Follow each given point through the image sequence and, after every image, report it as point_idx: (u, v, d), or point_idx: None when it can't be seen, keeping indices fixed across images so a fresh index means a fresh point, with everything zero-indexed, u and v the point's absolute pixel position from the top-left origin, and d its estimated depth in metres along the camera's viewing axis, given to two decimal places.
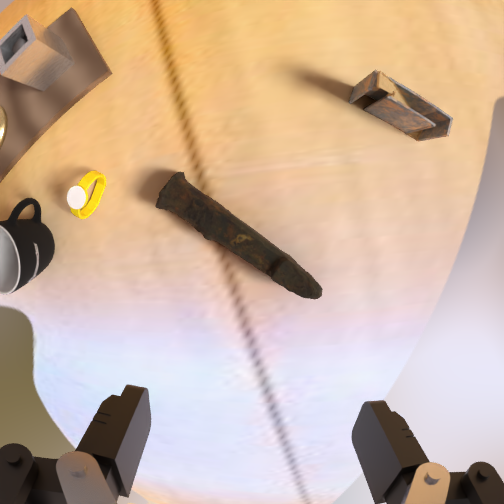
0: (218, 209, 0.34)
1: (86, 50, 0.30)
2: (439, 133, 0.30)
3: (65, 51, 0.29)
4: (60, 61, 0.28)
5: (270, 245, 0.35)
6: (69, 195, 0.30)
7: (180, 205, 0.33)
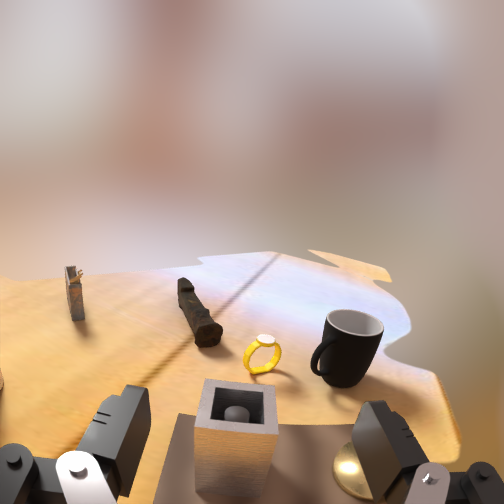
0: (191, 312, 0.54)
1: (180, 448, 0.27)
2: (74, 274, 0.59)
3: None
4: None
5: (183, 297, 0.61)
6: (271, 342, 0.43)
7: (207, 319, 0.52)
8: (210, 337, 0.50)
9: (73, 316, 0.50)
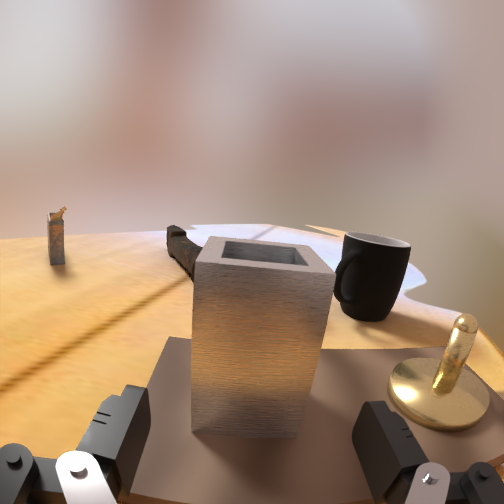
0: (185, 250, 0.48)
1: (169, 374, 0.20)
2: None
3: None
4: None
5: (174, 240, 0.54)
6: None
7: None
8: None
9: (52, 259, 0.43)
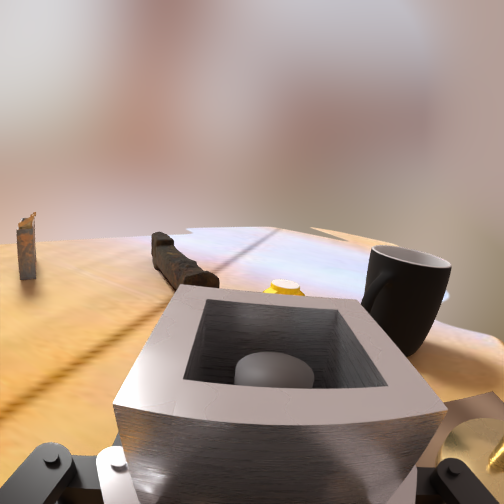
0: (173, 264, 0.39)
1: None
2: None
3: None
4: None
5: (159, 251, 0.45)
6: (294, 288, 0.29)
7: (197, 269, 0.37)
8: None
9: (21, 274, 0.34)
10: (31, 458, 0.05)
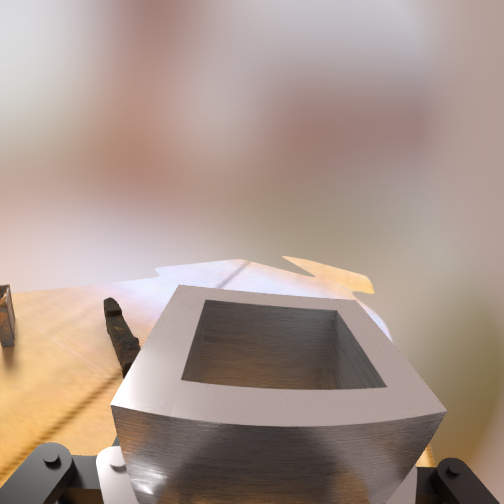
0: (118, 343, 0.42)
1: None
2: (8, 293, 0.45)
3: None
4: None
5: (109, 323, 0.48)
6: None
7: (136, 352, 0.40)
8: None
9: (2, 342, 0.37)
10: (31, 458, 0.05)
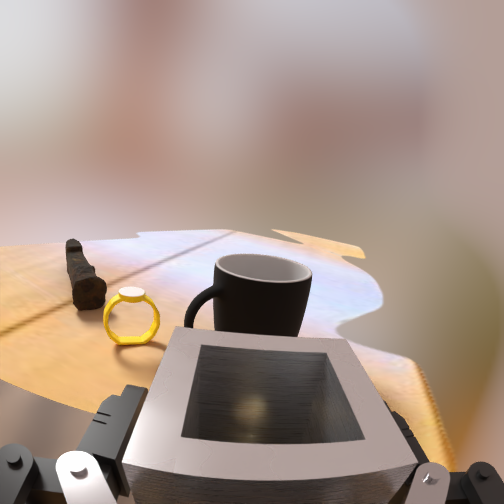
0: (73, 269, 0.39)
1: None
2: None
3: None
4: None
5: (68, 257, 0.44)
6: (136, 296, 0.28)
7: (89, 274, 0.37)
8: (91, 295, 0.35)
9: None
10: None
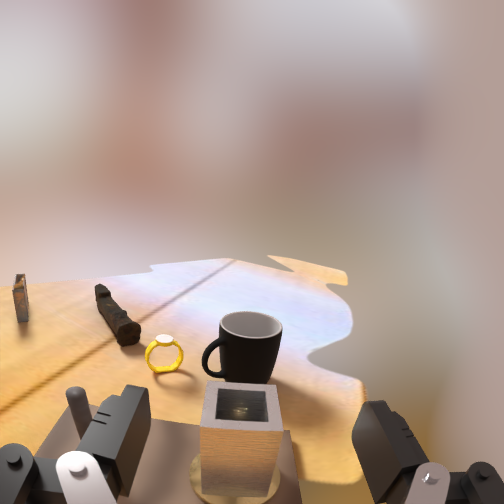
0: (111, 314, 0.54)
1: (63, 427, 0.26)
2: (24, 281, 0.57)
3: None
4: None
5: (101, 302, 0.59)
6: (168, 342, 0.43)
7: (126, 319, 0.52)
8: (131, 335, 0.51)
9: (18, 318, 0.49)
10: None
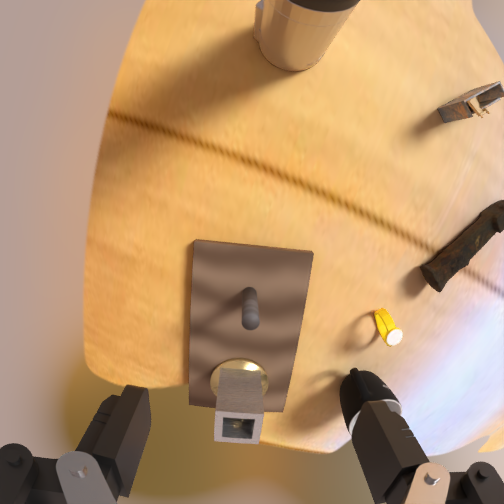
0: (458, 250, 0.40)
1: (272, 258, 0.41)
2: (498, 95, 0.32)
3: (246, 374, 0.43)
4: None
5: (484, 224, 0.39)
6: (388, 341, 0.40)
7: (448, 274, 0.40)
8: (428, 281, 0.42)
9: (441, 109, 0.37)
10: None
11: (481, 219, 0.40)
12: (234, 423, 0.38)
